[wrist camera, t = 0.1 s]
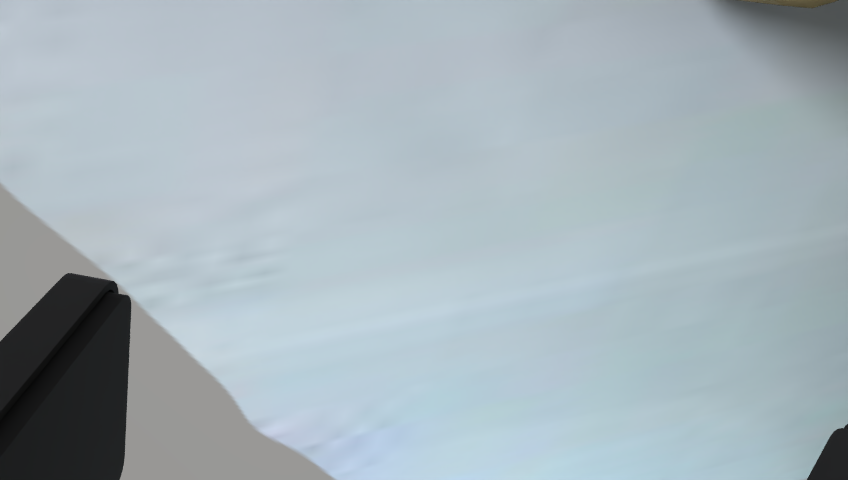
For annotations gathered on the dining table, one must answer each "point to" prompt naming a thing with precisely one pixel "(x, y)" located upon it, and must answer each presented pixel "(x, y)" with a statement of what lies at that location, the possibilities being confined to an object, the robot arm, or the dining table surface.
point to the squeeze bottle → (795, 2)
